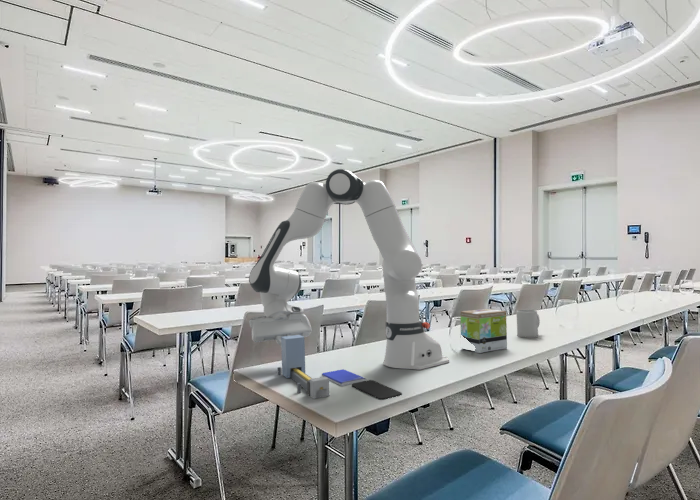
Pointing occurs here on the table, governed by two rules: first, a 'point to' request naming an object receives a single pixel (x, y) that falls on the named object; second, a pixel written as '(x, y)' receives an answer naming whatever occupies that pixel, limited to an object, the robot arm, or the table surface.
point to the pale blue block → (292, 354)
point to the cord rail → (309, 383)
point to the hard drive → (343, 377)
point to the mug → (527, 323)
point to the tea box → (485, 329)
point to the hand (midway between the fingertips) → (286, 348)
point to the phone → (376, 389)
